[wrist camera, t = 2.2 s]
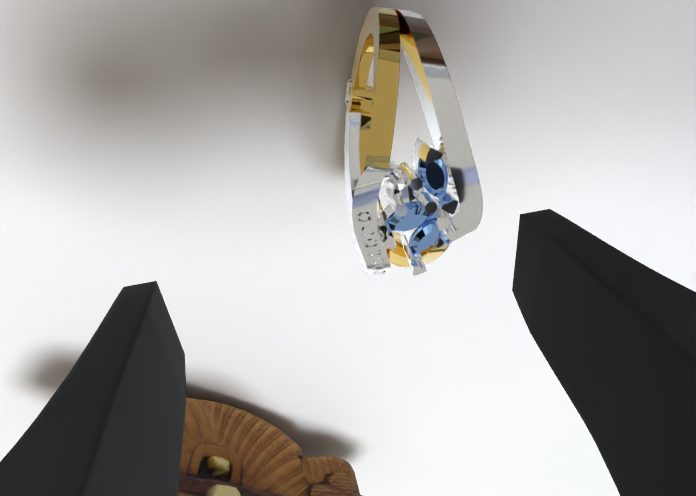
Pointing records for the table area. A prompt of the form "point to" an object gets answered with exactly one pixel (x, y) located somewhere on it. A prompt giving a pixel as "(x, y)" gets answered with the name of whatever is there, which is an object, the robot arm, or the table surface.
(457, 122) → the ring
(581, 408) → the robot arm
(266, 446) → the wooden carving
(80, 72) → the table surface
